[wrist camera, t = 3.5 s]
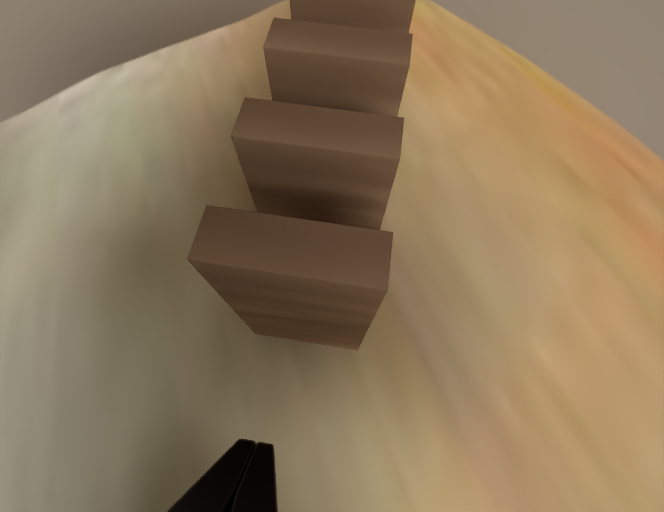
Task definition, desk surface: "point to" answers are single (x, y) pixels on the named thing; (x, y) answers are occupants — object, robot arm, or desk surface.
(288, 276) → the domino
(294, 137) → the domino
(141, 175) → the desk surface
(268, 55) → the domino
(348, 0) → the domino
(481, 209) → the desk surface
